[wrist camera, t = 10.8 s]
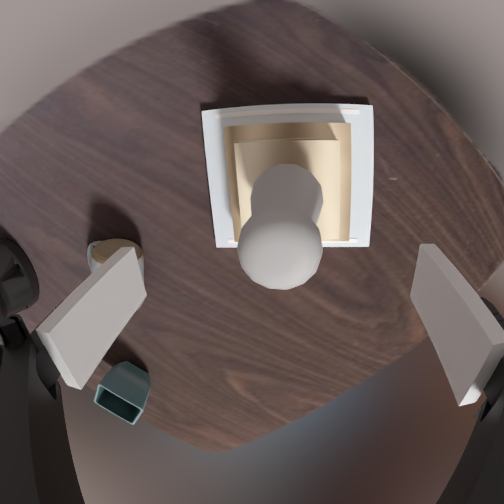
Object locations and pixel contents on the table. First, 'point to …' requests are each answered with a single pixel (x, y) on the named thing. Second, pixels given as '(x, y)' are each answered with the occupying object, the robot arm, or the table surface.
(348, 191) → the birch plinth
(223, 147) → the board
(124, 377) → the flower pot
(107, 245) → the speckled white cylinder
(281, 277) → the salt shaker
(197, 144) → the table surface
